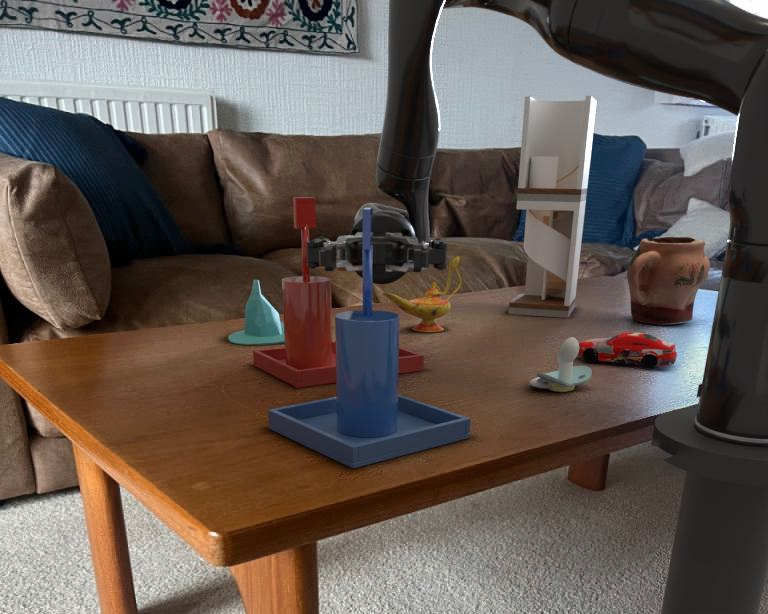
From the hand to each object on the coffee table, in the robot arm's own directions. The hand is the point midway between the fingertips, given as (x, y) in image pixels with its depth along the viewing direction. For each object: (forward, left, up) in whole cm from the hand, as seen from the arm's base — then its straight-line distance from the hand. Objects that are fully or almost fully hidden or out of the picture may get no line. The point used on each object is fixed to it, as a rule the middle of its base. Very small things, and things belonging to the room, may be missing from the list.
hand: (372, 260), depth 74 cm
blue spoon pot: (-1, +4, -16) cm, 16 cm away
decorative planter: (-15, -75, -16) cm, 78 cm away
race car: (-17, -41, -16) cm, 47 cm away
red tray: (+15, -18, -16) cm, 29 cm away
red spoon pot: (+18, -15, -16) cm, 28 cm away
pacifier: (-13, -23, -16) cm, 31 cm away
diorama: (+35, -33, -16) cm, 51 cm away
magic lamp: (+17, -47, -16) cm, 53 cm away
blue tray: (-2, +4, -16) cm, 16 cm away
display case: (+6, -76, -16) cm, 78 cm away
